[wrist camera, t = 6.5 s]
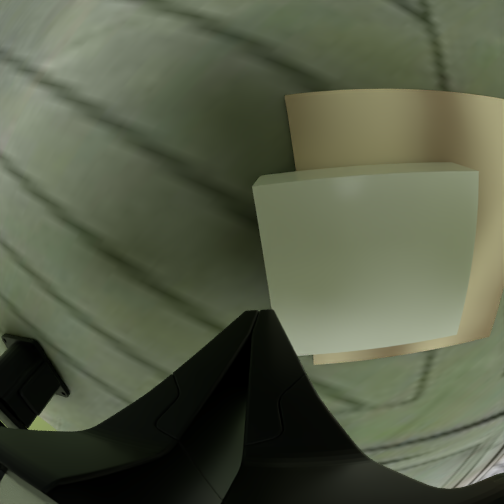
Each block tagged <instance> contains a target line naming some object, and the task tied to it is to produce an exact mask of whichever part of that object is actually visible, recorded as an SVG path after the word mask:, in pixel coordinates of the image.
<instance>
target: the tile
mask: <svg viewBox="0 0 504 504" xmlns="http://www.w3.org/2000/svg"><path fill="white" fill-rule="evenodd" d="M478 188H479V171H476V170H474V169H471V168H468V167H465V166H462V165H459V164H455V163H452V162H429V163H397V164H377V165H361V166H348V167H335V168H324V169H314V170H304V171H295V172H286V173H277V174H269V175H262V176H260V177H259V178H258V179H257V181H256V182H255V183H254V185H253V186H252V189H253V195H254V201H255V207H256V214H257V220H258V226H259V232H260V238H261V244H262V251H263V257H264V263H265V269H266V276H267V282H268V288H269V295H270V301H271V308H272V309H273V310H274V311H275V313H276V315H277V317H278V319H279V321H280V323H281V325H282V327H283V329H284V331H285V332H286V334H287V336H288V338H289V340H290V342H291V344H292V346H293V348H294V350H295V352H296V354H297V356H301V355H316V354H328V353H339V352H349V351H359V350H367V349H375V348H383V347H390V346H397V345H403V344H410V343H416V342H422V341H427V340H433V339H438V338H443V337H448V336H453V335H457V332H458V328H459V325H460V321H461V317H462V312H463V308H464V304H465V299H466V294H467V289H468V284H469V278H470V272H471V266H472V260H473V252H474V244H475V235H476V225H477V211H478Z"/></svg>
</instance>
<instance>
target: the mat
mask: <svg viewBox="0 0 504 504" xmlns="http://www.w3.org/2000/svg"><path fill="white" fill-rule="evenodd" d="M284 96H285V102H286V108H287V114H288V120H289V126H290V133H291V139H292V146H293V153H294V160H295V167H296V171H304V170H314V169H324V168H335V167H348V166H361V165H377V164H397V163H429V162H452V163H455V164H459V165H462V166H465V167H468V168H471V169H474V170H476V171H479V188H478V211H477V225H476V235H475V244H474V252H473V260H472V266H471V272H470V278H469V284H468V289H467V294H466V299H465V304H464V308H463V312H462V317H461V321H460V325H459V328H458V332H457V335H453V336H448V337H443V338H438V339H433V340H427V341H422V342H416V343H410V344H403V345H397V346H390V347H383V348H375V349H367V350H359V351H349V352H339V353H328V354H316V355H313V359H314V365H319V364H331V363H342V362H352V361H361V360H369V359H377V358H384V357H391V356H398V355H404V354H410V353H416V352H422V351H427V350H432V349H437V348H442V347H447V346H452V345H456V344H461V343H465V342H469V341H474V340H478V339H482V338H485V337H489V336H490V333H491V330H492V327H493V324H494V321H495V317H496V314H497V310H498V307H499V303H500V299H501V295H502V291H503V287H504V99H500V98H494V97H488V96H481V95H474V94H466V93H457V92H447V91H434V90H417V89H352V90H333V91H320V92H309V93H299V94H290V95H284Z"/></svg>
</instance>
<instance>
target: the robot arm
mask: <svg viewBox="0 0 504 504" xmlns="http://www.w3.org/2000/svg"><path fill="white" fill-rule="evenodd" d="M2 340H3V342H4V343H5V345H6V347H7V350H6V351H5V352H4V353H3V354H2V355H1V356H0V420H1V421H2V422H3V423H4V424H5V425H6V426H7V427H8V428H7V427H6V426H5V425H4V424H3V423H2V422H1V421H0V504H504V473H500V474H497V475H494V476H492V477H489V478H486V479H484V480H482V481H479V482H477V483H474V484H472V485H469V486H465V487H462V488H453V489H445V488H437V487H433V486H429V485H427V484H424V483H422V482H419V481H417V480H415V479H412V478H410V477H407V476H405V475H403V474H401V473H398V472H396V471H394V470H392V469H390V468H387V467H385V466H383V465H381V464H379V463H377V462H375V461H373V460H372V459H370V458H369V457H368V456H366V455H365V454H364V453H363V452H362V451H361V450H360V449H359V448H358V446H357V445H356V444H355V443H354V442H353V440H352V439H351V438H350V437H349V435H348V434H347V433H346V432H345V430H344V429H343V428H342V427H341V425H340V424H339V423H338V422H337V420H336V419H335V418H334V416H333V415H332V414H331V413H330V411H329V410H328V409H327V407H326V406H325V404H324V403H323V401H322V400H321V399H320V397H319V395H318V394H317V392H316V390H315V389H314V387H313V385H312V383H311V381H310V379H309V377H308V376H307V374H306V372H305V370H304V368H303V366H302V364H301V362H300V360H299V358H298V356H297V354H296V352H295V350H294V348H293V346H292V344H291V342H290V340H289V338H288V336H287V334H286V332H285V331H284V329H283V327H282V325H281V323H280V321H279V319H278V317H277V315H276V313H275V311H274V310H273V309H267V310H260V312H259V311H258V310H250V311H245V312H243V313H242V314H241V315H240V316H239V317H238V318H237V319H235V320H234V321H233V322H232V323H231V324H230V325H229V326H227V327H226V328H225V329H224V330H223V331H222V332H221V333H219V334H218V335H217V336H216V337H215V338H214V339H212V340H211V341H210V342H209V343H208V344H207V345H205V346H204V347H203V348H202V349H201V350H200V351H198V352H197V353H196V354H195V355H194V356H193V357H191V358H190V359H189V360H188V361H187V362H185V363H184V364H183V365H182V366H181V367H179V368H178V369H177V370H176V371H175V372H173V374H171V375H170V376H168V377H167V378H166V379H165V380H164V381H162V382H161V383H160V384H159V385H157V386H156V387H155V388H153V389H152V390H151V391H149V392H148V393H147V394H145V395H144V396H142V397H141V398H139V399H138V400H136V401H135V402H133V403H132V404H130V405H129V406H127V407H126V408H124V409H123V410H121V411H119V412H118V413H116V414H115V415H113V416H112V417H110V418H108V419H107V420H105V421H103V422H102V423H100V424H98V425H97V426H95V427H92V428H90V429H86V430H83V431H74V432H64V431H37V430H28V429H27V428H29V426H30V425H31V424H32V422H33V421H34V419H35V418H36V417H37V415H40V413H41V412H42V411H43V409H44V408H45V407H46V405H47V404H48V402H49V401H50V400H51V398H52V397H53V396H54V394H57V395H60V396H63V397H68V396H69V395H70V393H69V391H68V390H67V388H66V387H65V385H64V384H63V382H62V381H61V379H60V378H59V376H58V375H57V373H56V372H55V370H54V369H53V367H52V365H51V364H50V362H49V361H48V359H47V357H46V356H45V354H44V352H43V350H42V349H41V347H40V345H39V344H38V343H37V342H36V341H35V340H32V339H26V338H21V337H16V336H12V335H7V334H4V335H3V336H2Z"/></svg>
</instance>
